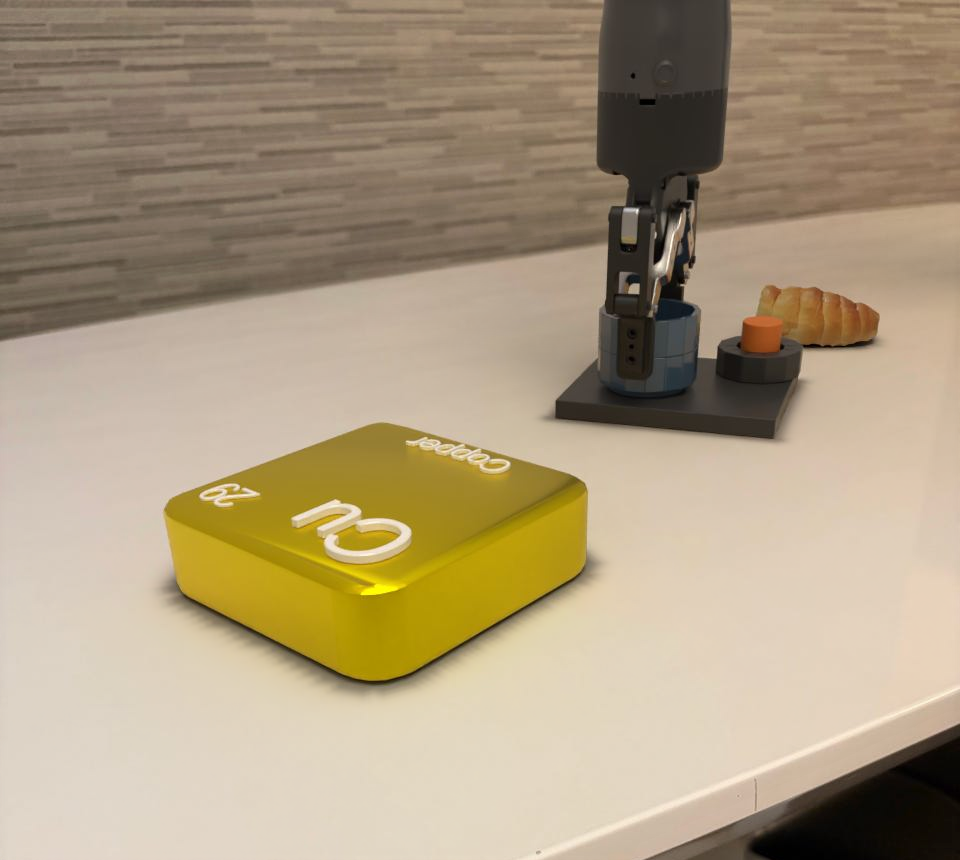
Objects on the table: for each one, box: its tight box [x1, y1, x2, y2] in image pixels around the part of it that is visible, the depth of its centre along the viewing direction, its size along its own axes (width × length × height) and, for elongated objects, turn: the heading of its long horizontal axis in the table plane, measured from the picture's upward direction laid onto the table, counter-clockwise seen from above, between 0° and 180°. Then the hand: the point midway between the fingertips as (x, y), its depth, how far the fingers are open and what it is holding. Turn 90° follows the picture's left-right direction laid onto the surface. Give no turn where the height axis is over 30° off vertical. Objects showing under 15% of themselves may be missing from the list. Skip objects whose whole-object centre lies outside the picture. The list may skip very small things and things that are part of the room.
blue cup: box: [597, 298, 702, 398], centre depth 71 cm, size 6×6×5 cm
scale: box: [554, 335, 804, 439], centre depth 72 cm, size 14×12×3 cm
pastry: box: [755, 284, 881, 348], centre depth 84 cm, size 9×7×4 cm
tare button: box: [740, 315, 783, 353], centre depth 73 cm, size 3×3×2 cm
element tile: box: [162, 422, 589, 682], centre depth 50 cm, size 15×15×5 cm
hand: (649, 359), depth 71 cm, fingers open, 8 cm apart
